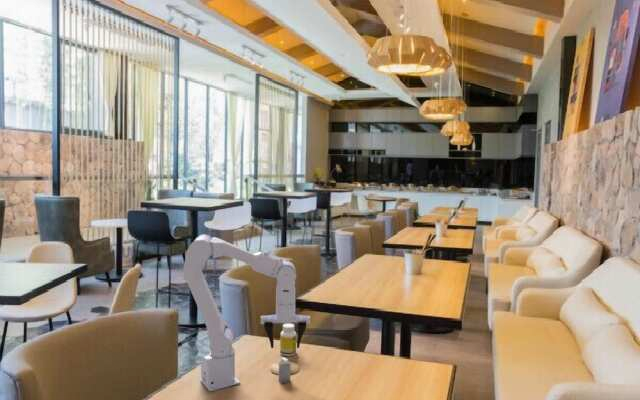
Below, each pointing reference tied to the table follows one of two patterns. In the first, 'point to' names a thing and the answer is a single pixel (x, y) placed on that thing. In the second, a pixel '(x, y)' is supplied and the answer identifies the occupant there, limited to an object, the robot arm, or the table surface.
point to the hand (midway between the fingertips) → (285, 346)
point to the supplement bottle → (288, 340)
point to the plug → (284, 371)
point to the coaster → (293, 368)
